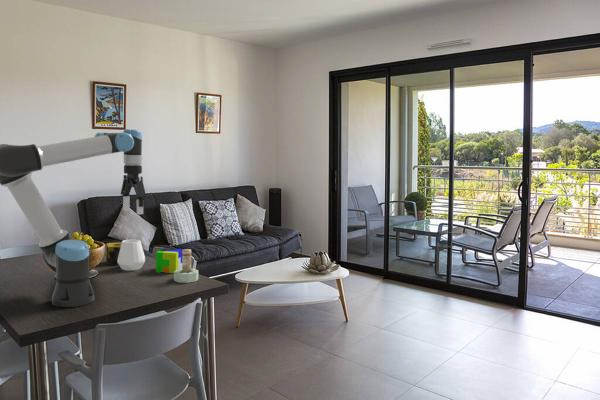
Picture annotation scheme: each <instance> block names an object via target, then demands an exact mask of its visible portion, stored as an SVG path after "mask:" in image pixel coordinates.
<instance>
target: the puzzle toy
mask: <svg viewBox="0 0 600 400" xmlns="http://www.w3.org/2000/svg"><path fill="white" fill-rule="evenodd" d="M182 250H184V249H183V248H168V247H167V248H166V247H163V248H162V249H160V250H158V251H156V253H155V254H156V255H155V272H156V273H160V272H165V273H166V274H174V271H176V270H178V269H182ZM165 273H164V274H165Z"/></svg>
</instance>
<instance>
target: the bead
mask: <svg viewBox="0 0 600 400" xmlns="http://www.w3.org/2000/svg"><path fill="white" fill-rule="evenodd" d="M198 280H199V270H198V269H195V268H191V272H190V273H182V269H178V270H176V271H174V273H173V281H174V282H177V283H183V284H185V283H186V284H189V283H193V282H197V281H198Z"/></svg>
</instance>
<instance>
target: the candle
mask: <svg viewBox="0 0 600 400" xmlns="http://www.w3.org/2000/svg"><path fill="white" fill-rule="evenodd" d="M121 244H122V242H107V243H106V254H105V255H106V257H105V258H106V260H105V261H106V264H107V266H109V267H111V266H119V264H118V262H117V260H118V256H119V252H120V248H121Z"/></svg>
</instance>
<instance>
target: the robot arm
mask: <svg viewBox="0 0 600 400" xmlns="http://www.w3.org/2000/svg"><path fill="white" fill-rule="evenodd" d="M142 137H143V135H142V131H141V130H140V129H131V128H130V129H127V128H126V129H123V131H122V132H103V131H102V132H97V133H95V135H94V136H92V137H88V138H81V139H80V138H79V139H73V140H68V141H62V142H57V143H49V144H43V145H39V146H38V145H37V144H35V143H34V144H33V143H31V144H26V145H25V144H24V145H18V144H17V145H15V144H7V143H2V144H0V185H1V186H2V187H5V188H7V189H8V190H9V192H10V193H11V194H12V195H11V196H12V197H13V198H14V200H15V201H16V203H17V205H18V206H19V208H20V210H21V212H22V213H23V215H24V216H25V218H26V219H27V221H28V223H29V224H30V226H31V228H32V229H33V231H34V232H35V234H36V235H37V237H38V239H39V243H38V248H39V249H40V250H41V251H42V254H43V258H44V260H45V261H46V262H47V264H48V265H50V266H51V267H54V268H55V277H56V278H55V281H56V283H55V287H54V289H53V293H52V297H51V305H52V306H54V307H58V308H76V307H81V306H86V305H89V304H91V303H93V302H94V301H95V293H94V289H93V287H92V284H91V282H90V249H89V247H90V246H89V244H88V243H87V242H86V241H84V240H80V239H72V237H71V235H70V234H69V232H68V230H65V229H62V228H61V226H60V225H59V223H58V221H57V220H56V218H55V216H54V214H53V213H52V210H50V207H49V206H48V204H47V202H46V201H45V199H44V198H43V195H42V194H41V193H40V191H39V189H38V187H37V185H36V184H35V182H34V181H33V179H32V174H33V172H38V171H42V170H43V168H44V167H47V166H49V167H50V166H54V165H59V164H64V163H69V162H74V161H80V160H83V159H90V158H95V157H100V156H105V155H110V154H116V153H123V164H124V166H123V173H124V175H123V181H122V185H121V189H120V195H122V203H123V205H122V207H123V208H122V210H123V212H127V211H128V212H130V211H131V208H130V207H131V206H130V200H131V199H130V197H131V194H130V193H131V191H132V188H133V189H134V193H135V195H136V215H144V200H145V199H146V198H147V194H146V190H145V186H144V178H143V176H141V175H140V174H142V173H143V172H142V171H143V166H142V161H143V156H142V151H143V150H142V148H143V147H142V146H143V143H142V142H143V138H142ZM139 175H140V176H139Z"/></svg>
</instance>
